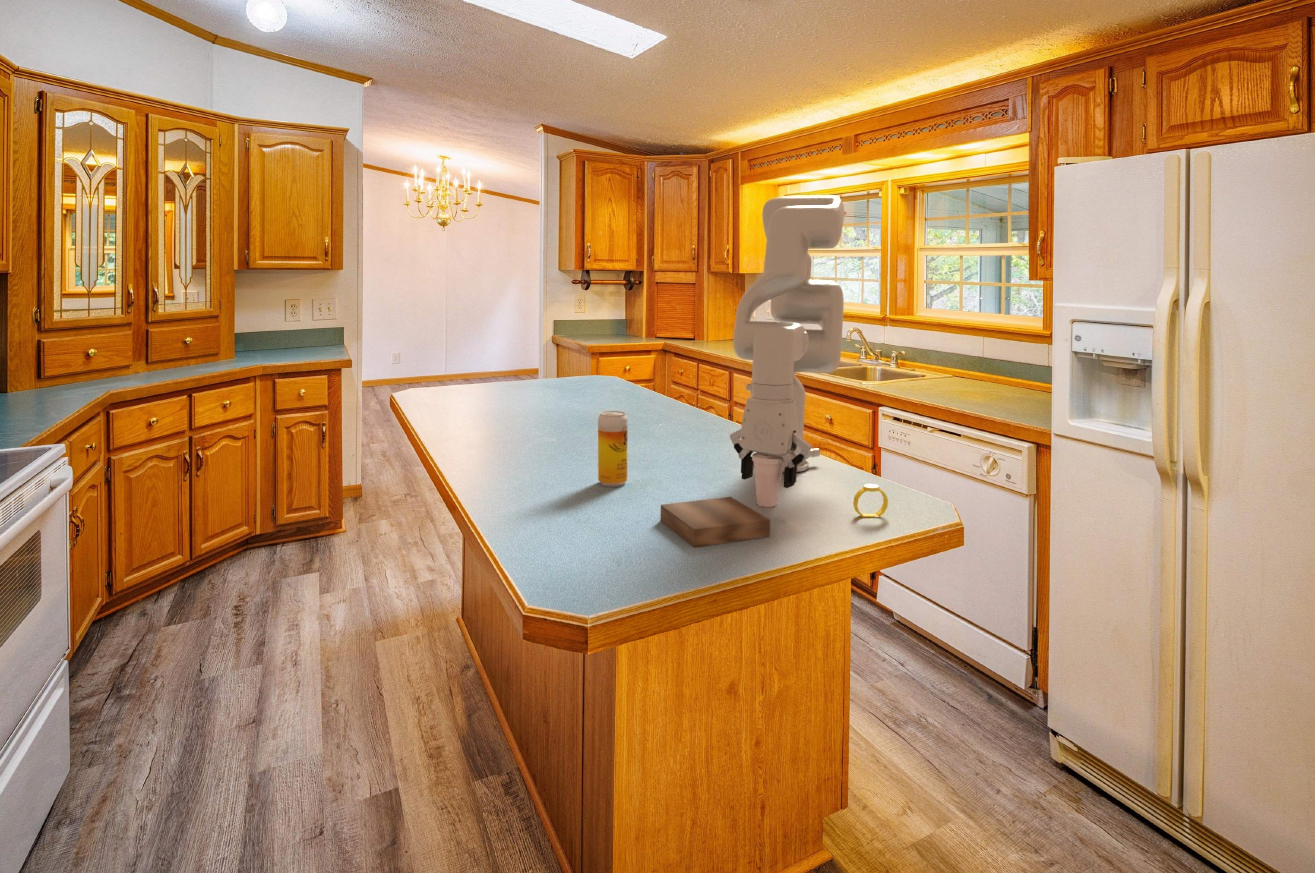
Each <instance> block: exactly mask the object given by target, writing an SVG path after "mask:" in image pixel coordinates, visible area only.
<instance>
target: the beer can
mask: <svg viewBox="0 0 1315 873" xmlns="http://www.w3.org/2000/svg"><path fill="white" fill-rule="evenodd" d="M597 458H598V459H597V461H598V462H597V463H598V464H597V466H598V467H597V468H598V469H597V470H598V472H597V474H598V477H597V478H598V481H599V482H600V485H602V486H604V487H610V488H611V487H613V488H614V487H621V486H624V485H625V484H626V482H627V481H628V416H627V414H626V412H624V411H619V410H606V411H605V410H604V411H601V412H599V415H598V418H597Z"/></svg>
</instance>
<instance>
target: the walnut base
mask: <svg viewBox="0 0 1315 873" xmlns="http://www.w3.org/2000/svg"><path fill="white" fill-rule="evenodd" d="M660 522H661V523H662V524H664V526H665V525H666V527H668V528H669V529H670V530H672V532H674V533H675V534H677V535H678V536H679V537H680V538H682V539H683V540H684V541H685V542H687V543H688V544H689V545H690V546H692V547H693V548H699V547H704V546H706V547H707V546H712V545H719V544H720V545H721V544H728V543H733V542H732V541H735V542H741V541H740V540H742V541H747V540H746V539H750V540H754V539H753V538H757V539H761V538H760V537H764V538H770V537H769V536H770V535H771V533H770V532H771V531H770V530H771V519H770V518H769V517H767V516H765V515H763V514H762V513H760V512H758V511H756V510H754V509H752V508H751V507H749V506H748V505H746V504H744V503H743V502H741V501H739V500H738V499H736V498H734V497H732V496H725V497H717V498H708V499H707V498H706V499H698V500H690V501H683V502H682V501H681V502H672V503H664V504H662V503H661V504H660ZM727 542H728V543H727Z"/></svg>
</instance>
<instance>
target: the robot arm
mask: <svg viewBox="0 0 1315 873" xmlns="http://www.w3.org/2000/svg"><path fill="white" fill-rule="evenodd" d="M761 215H762V217H761V218H762V223H763V224H762V225H763V231H764V234H765V237H766V244H765V255H764V264H763V272H762V275H761V276H760V277H758V278H757V279H756V280H754V282H752V283H751V285H750V286H749V287H748V288H747V290H746V291H745V292H744V294H743V295H742V296H741V299H739V302H738V305H737V308H736V312H735V313H736V314H735V322H734V329H733V338H732V339H733V341H732V342H733V350H734V353H735V355H736V356H737V357H738V358H740V359H742V360H747V361H752V371H751V382H750V383H747V384H746V387H745V389H746V391H748V392H750V396H751V397H747V398H746V401H745V406H744V411H743V416H742V422H741V428H740V429H738V430H736V431H734V432H731V434H729V439H730V440H731V443H732V445H733V449H734V451H736V453H737V454H738V458H739V459H740V473H741V480H748V479H750V478H752V477H753V476H754V461H752V455H753V454H754V453H757V452H758V453H764V454H770V455H776V456H783V458H784V460H785V463H784V464H783V471H782V474H783V488H784V489H789V488H791V487H793V486H794V485H795V483H796V482H797V475H798V474H797V473H800V472H804V471H806V470H808V469H809V462H808V459H809V458H816V457H820V455H821V450H820V448H813V446H812V444H810V443H809V442H808V441H807V440H805V439H804V427H805V410H806V409H805V408H806V390H805V387H804V385H803V384H802V382H801V381H800V380H799V378H798V377H797V376H796V374H797V373H814V374H817V373H818V374H830V373H831V374H832V373H833V372H835V371H837V369H838V368H839V366H840V363H841V358H842V357H841V356H842V344H843V343H842V340H843V322H844V308H845V307H844V305H845V304H844V301H845V300H844V293H843V289H842V287H841V285H840V284H839V283H837V282H835V281H833V280H812V277H811V276H812V261H813V260H812V257H811V255H810V253H809V250H811V249H816V250H819V249H823V250H824V249H825V250H828V249H834V248H836V247H837V245H839V242H840V240H841V237H842V232H843V225H844V220H845V206H844V202H843V201H842V199H841V198H840V197H839V196H837V195H785V196H778V197H777V196H776V197H774V198H771V199H770V198H769V200H767V201H766V202H765V203H764V205H763V208H762V214H761ZM768 301H770V312H771V316H772V318H773V320H774V321H760V320H759V321H757V320H756V321H755V320H754V321H753V320H751V318H752V316H753V314H754V312H755V311H756V310H757V309H758V308H759V307H760V306H762V305H763V304H765V303H766V302H768ZM805 324H806V325H817V326H818V325H819V326H820V327H821V329H812V328H811V329H806V328H805V327H804V326H803V325H805Z"/></svg>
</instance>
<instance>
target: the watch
mask: <svg viewBox="0 0 1315 873" xmlns="http://www.w3.org/2000/svg"><path fill="white" fill-rule="evenodd" d="M865 492H866V493H867V492H874V493H875V492H879V493H880V494H881V496H882V497H883V499H882V500H883V503H882V505H881V508H880V509H879V510H878V511H877V512H876V513H862V512H860V510H859V507H858V504H859V499H860V498H861V496H862V495H863V494H864V493H865ZM888 504H889V498H888V495H887V494H886V492H885V491H883V490H882V489H880V486H879V485H878V484H876V483H875V484H874V483H865V484H864V485H863V487H862V488H861V489H859V490H858V491H857V492H856V493H855V495H854V498H853V507H854V508H853V509H854V510H855V512H856V513H857V514H858V515H859V516H860V517H861V518H863V517H869V518H876V517H875V516H880V517H881V516H882V515H884V514H885V513H886V511H887V509H888V506H889V505H888Z"/></svg>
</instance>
